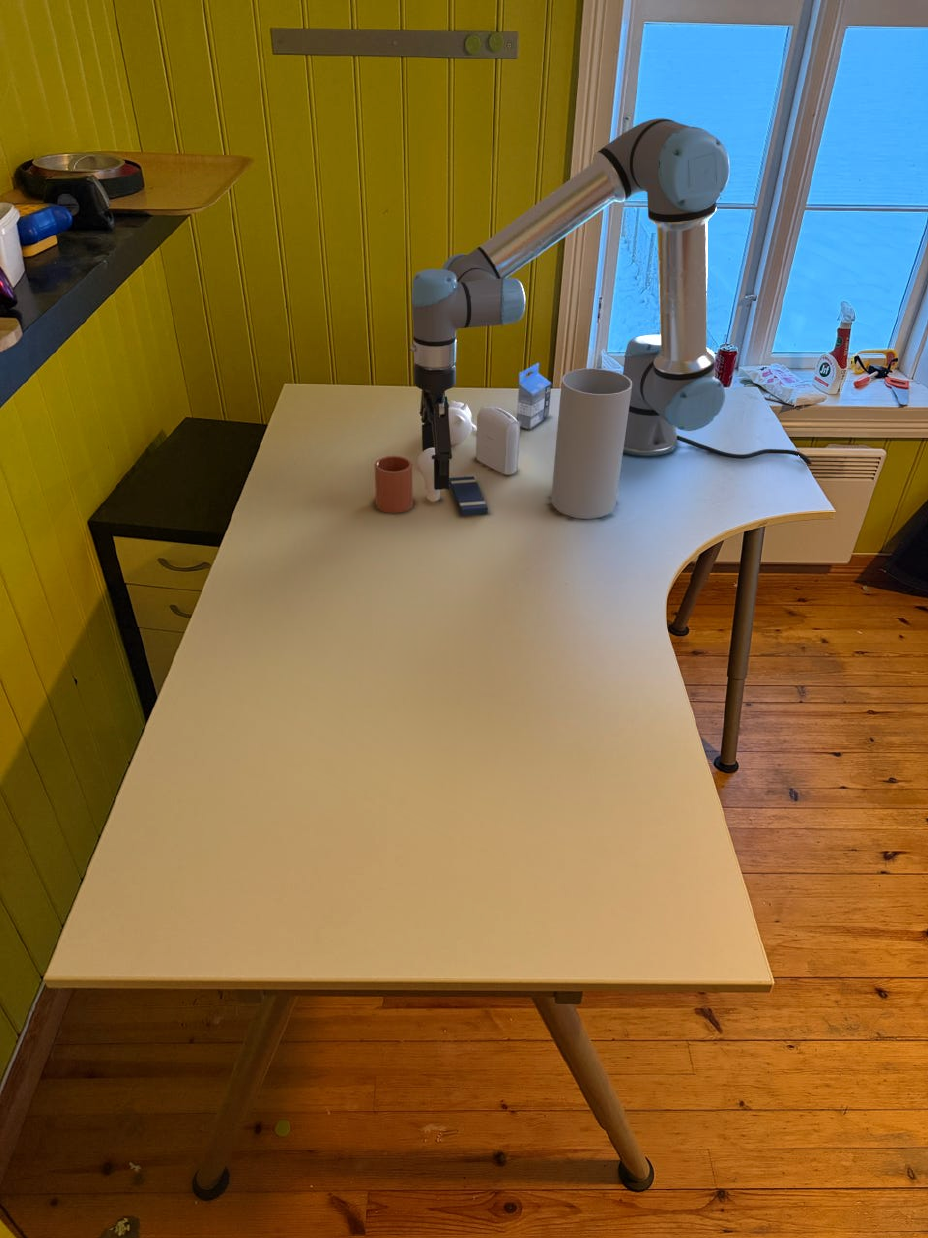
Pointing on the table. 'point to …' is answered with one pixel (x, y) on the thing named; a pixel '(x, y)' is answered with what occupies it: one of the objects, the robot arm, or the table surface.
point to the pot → (394, 484)
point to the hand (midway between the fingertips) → (435, 471)
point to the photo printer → (497, 439)
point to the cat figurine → (459, 422)
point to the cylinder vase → (590, 442)
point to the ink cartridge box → (533, 398)
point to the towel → (468, 496)
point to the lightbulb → (428, 473)
